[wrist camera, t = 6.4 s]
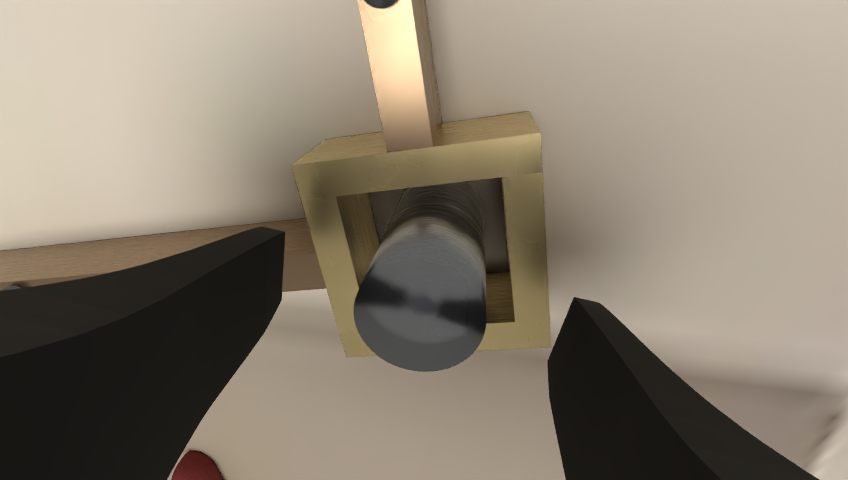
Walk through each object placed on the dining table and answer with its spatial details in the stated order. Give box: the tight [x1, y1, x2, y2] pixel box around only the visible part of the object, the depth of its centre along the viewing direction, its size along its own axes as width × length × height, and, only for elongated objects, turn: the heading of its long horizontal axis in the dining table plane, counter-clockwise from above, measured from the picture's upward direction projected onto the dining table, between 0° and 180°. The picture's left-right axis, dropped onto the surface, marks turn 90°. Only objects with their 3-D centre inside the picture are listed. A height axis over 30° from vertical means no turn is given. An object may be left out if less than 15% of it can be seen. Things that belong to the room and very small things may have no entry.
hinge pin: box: [353, 182, 486, 372], centre depth 13 cm, size 3×3×6 cm
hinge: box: [0, 0, 551, 358], centre depth 12 cm, size 22×22×3 cm
